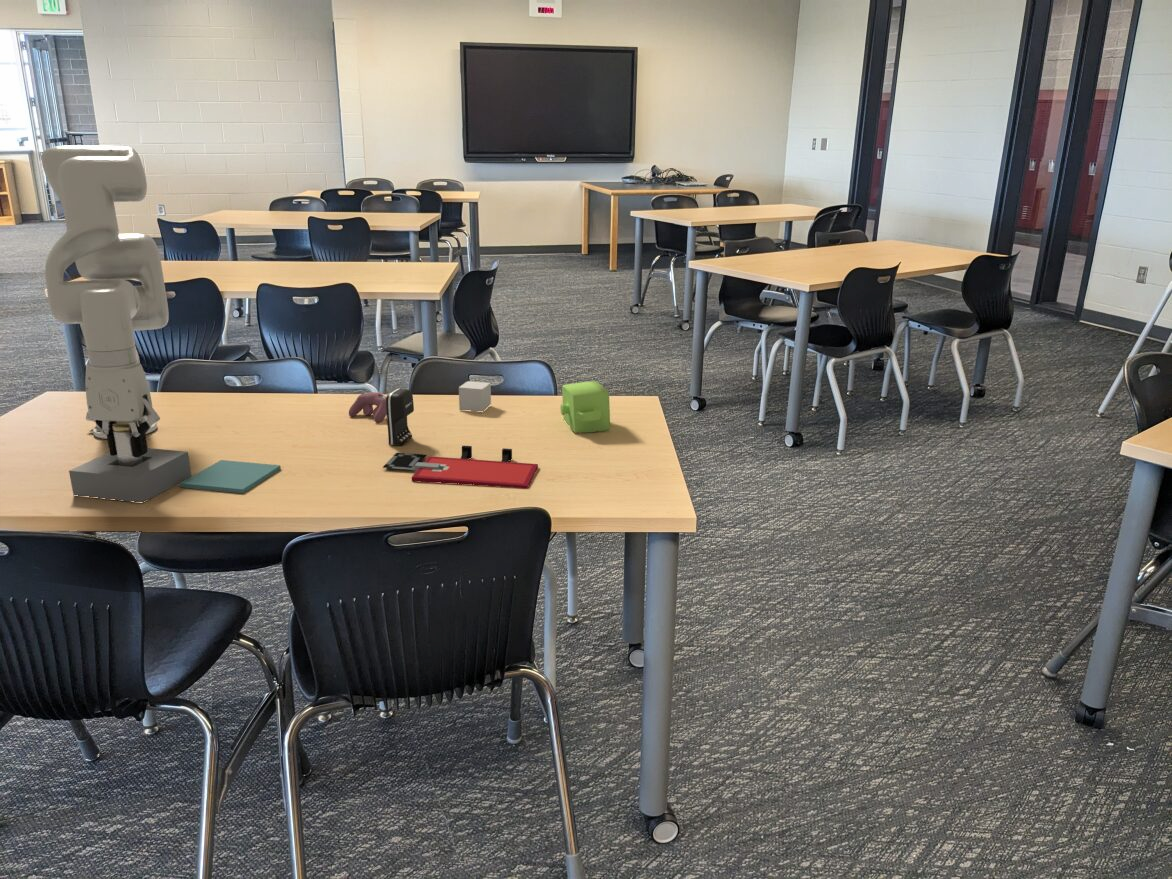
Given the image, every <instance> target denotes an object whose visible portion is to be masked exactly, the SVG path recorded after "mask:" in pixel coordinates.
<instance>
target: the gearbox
mask: <svg viewBox="0 0 1172 879" xmlns="http://www.w3.org/2000/svg"><path fill="white" fill-rule="evenodd" d="M561 392H562V394H561V395H562V403H561V404H560V407H559V408H560V414H561V415H562V416H563V421H564V420H565V421H566V423H567V424H568V425H569V426H570V428H571V429H572V430H573V431H574V432H575V433H574V432H573V431H572V430H571V429H570V428H569V429H570V430H571V431H572V432H573V433H574V434H578V433H577V432H586V433H593V432H594V433H596V432H595V431H598V432H604V431H609V430H611V414H610V413H611V410H610V408H611V407H610V391H609V390H608V389H607V388H605V386H603V384H601V383H599V382H598V381H595V380H593V381H592V380H591V381H582V382H575V383H574V382H573V383H569V384H568V383H567V384H563V385H562V386H561ZM566 423H565V424H566ZM567 424H566V425H567Z"/></svg>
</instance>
